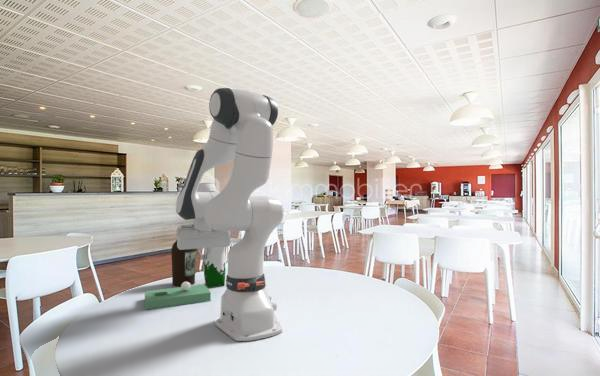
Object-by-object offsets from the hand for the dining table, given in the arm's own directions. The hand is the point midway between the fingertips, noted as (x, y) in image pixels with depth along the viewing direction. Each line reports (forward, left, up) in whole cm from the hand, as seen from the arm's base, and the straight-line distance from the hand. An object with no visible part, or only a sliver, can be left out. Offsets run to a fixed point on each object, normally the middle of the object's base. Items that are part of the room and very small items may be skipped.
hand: (204, 259), depth 127 cm
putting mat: (-1, +10, -14) cm, 17 cm away
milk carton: (+14, -7, -15) cm, 22 cm away
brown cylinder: (+22, +5, -15) cm, 27 cm away
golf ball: (-1, +7, -10) cm, 12 cm away
